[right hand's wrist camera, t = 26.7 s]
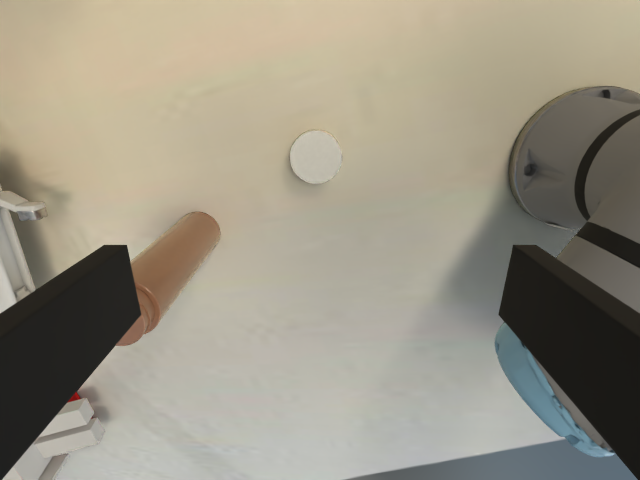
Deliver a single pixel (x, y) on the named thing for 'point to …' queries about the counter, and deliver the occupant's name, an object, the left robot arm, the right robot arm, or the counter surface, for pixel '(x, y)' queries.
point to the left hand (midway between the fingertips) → (55, 254)
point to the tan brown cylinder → (169, 269)
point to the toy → (59, 442)
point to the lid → (315, 156)
